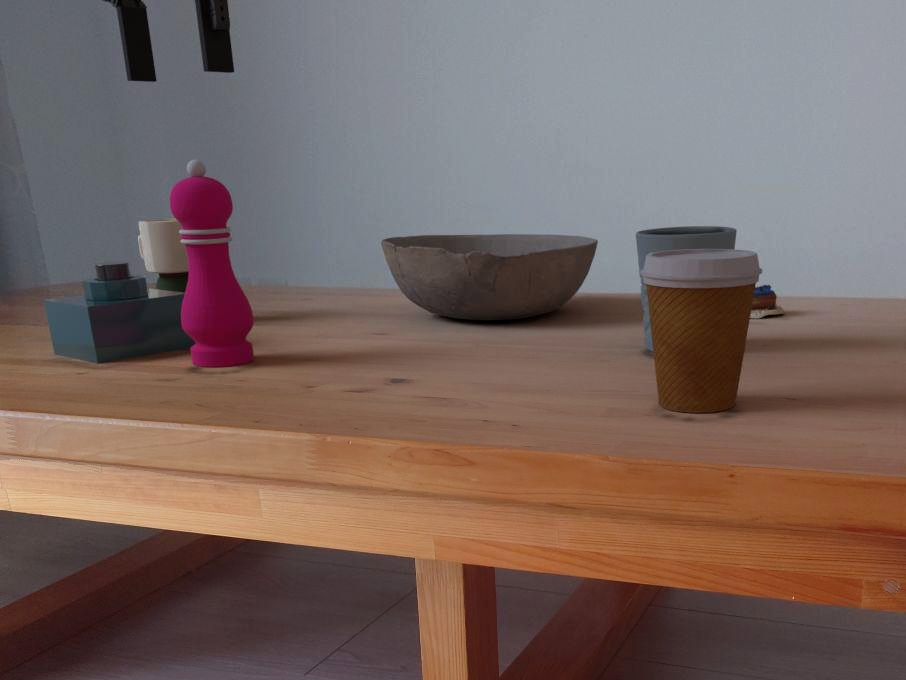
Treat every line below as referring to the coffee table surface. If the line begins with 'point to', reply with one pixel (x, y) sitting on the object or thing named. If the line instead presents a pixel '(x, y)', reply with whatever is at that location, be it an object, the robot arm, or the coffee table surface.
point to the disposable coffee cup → (699, 324)
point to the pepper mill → (210, 273)
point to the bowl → (489, 272)
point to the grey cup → (677, 241)
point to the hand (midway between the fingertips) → (179, 77)
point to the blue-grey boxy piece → (117, 321)
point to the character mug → (164, 253)
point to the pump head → (112, 271)
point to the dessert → (764, 302)
